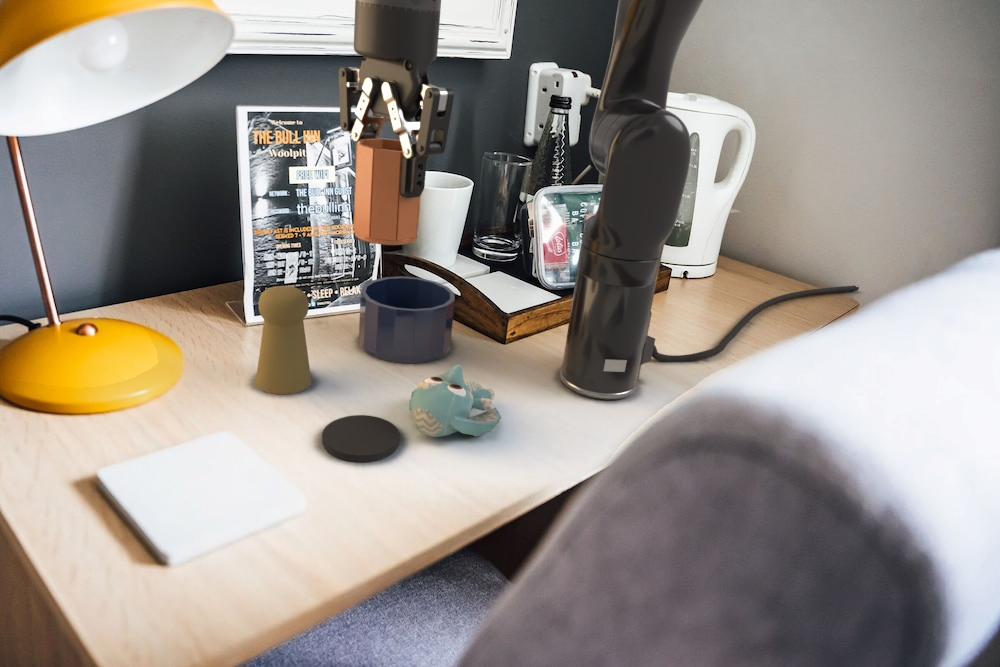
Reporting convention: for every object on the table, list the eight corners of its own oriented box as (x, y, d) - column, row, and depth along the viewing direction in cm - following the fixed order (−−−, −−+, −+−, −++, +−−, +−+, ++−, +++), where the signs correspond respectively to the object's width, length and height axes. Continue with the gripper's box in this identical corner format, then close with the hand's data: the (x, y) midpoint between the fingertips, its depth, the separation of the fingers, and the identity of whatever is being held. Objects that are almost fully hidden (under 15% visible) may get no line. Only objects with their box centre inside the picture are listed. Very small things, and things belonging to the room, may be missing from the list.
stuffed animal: (533, 371, 83) (476, 390, 73) (519, 432, 85) (461, 459, 74) (452, 341, 88) (387, 355, 78) (440, 399, 90) (375, 421, 79)
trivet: (367, 414, 82) (367, 407, 81) (415, 444, 77) (415, 437, 77) (306, 437, 76) (306, 430, 76) (354, 471, 72) (354, 464, 72)
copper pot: (390, 223, 81) (395, 136, 77) (429, 239, 77) (437, 149, 74) (341, 231, 76) (344, 139, 73) (381, 248, 73) (386, 153, 69)
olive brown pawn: (297, 398, 83) (297, 304, 79) (245, 388, 84) (243, 294, 80) (320, 375, 89) (322, 285, 84) (271, 365, 89) (270, 276, 85)
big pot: (408, 318, 107) (412, 271, 104) (468, 348, 100) (473, 298, 97) (340, 338, 98) (342, 287, 96) (400, 371, 92) (404, 317, 89)
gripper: (485, 13, 67) (466, 202, 73) (380, -2, 75) (371, 169, 82) (420, 6, 61) (406, 211, 68) (315, -9, 70) (311, 174, 76)
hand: (387, 187), depth 75 cm, fingers closed on copper pot, 6 cm apart
